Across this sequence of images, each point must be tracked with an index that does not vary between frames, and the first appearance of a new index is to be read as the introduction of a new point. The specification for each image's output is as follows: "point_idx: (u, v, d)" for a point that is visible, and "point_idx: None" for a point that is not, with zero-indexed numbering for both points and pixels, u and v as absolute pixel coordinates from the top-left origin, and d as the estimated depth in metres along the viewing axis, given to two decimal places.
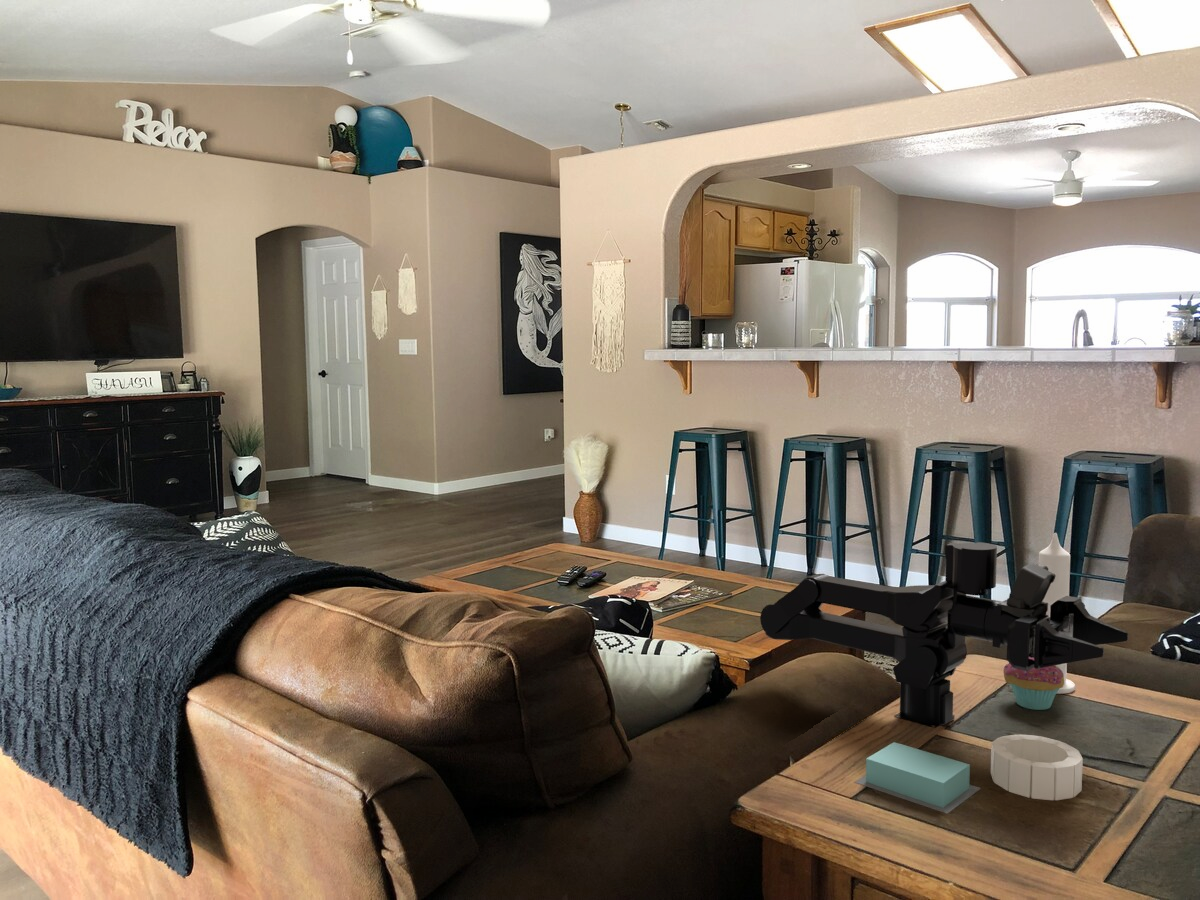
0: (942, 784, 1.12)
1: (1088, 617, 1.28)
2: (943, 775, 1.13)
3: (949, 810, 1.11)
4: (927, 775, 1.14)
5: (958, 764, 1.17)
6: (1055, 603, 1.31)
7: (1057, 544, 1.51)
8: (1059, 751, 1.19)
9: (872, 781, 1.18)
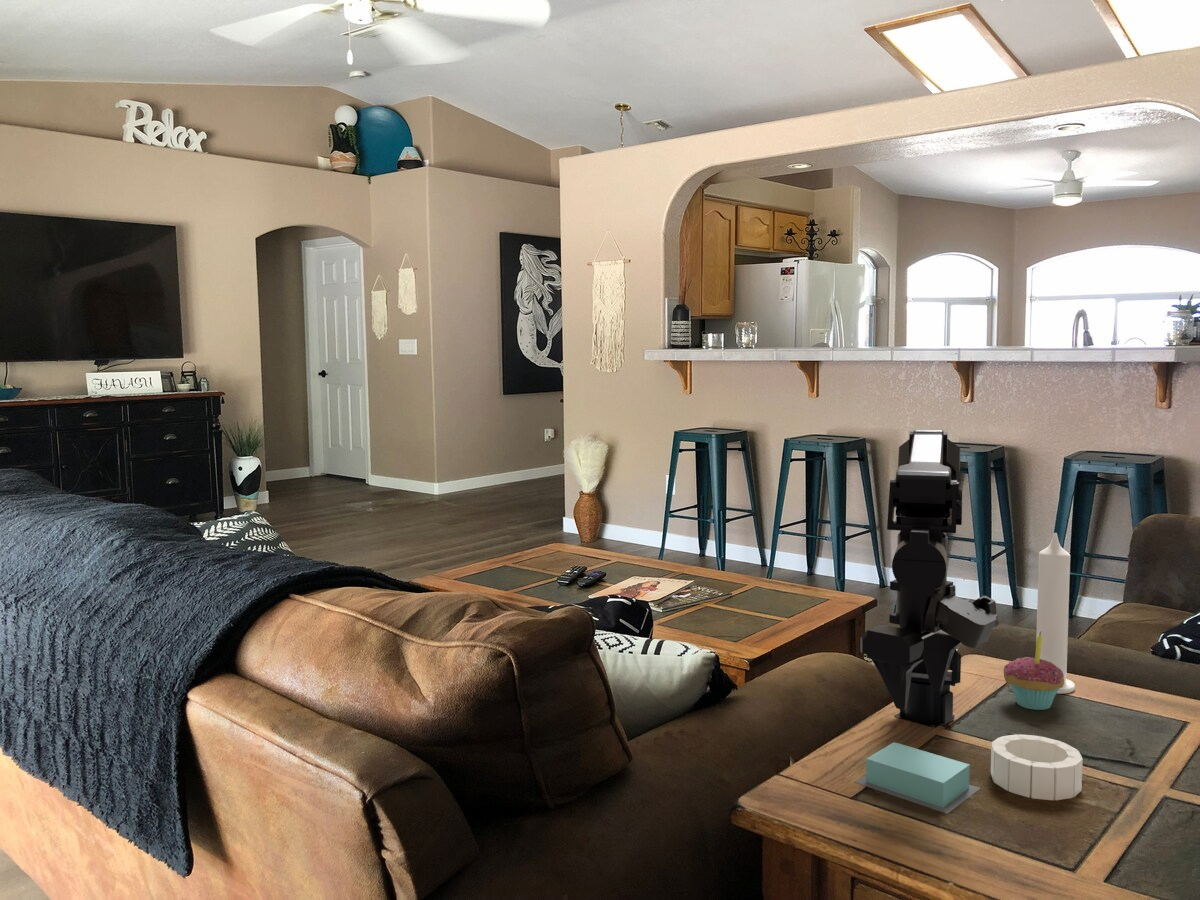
0: (942, 784, 1.12)
1: (950, 651, 1.19)
2: (943, 775, 1.13)
3: (949, 810, 1.11)
4: (927, 775, 1.14)
5: (958, 764, 1.17)
6: None
7: (1057, 544, 1.51)
8: (1059, 751, 1.19)
9: (872, 781, 1.18)
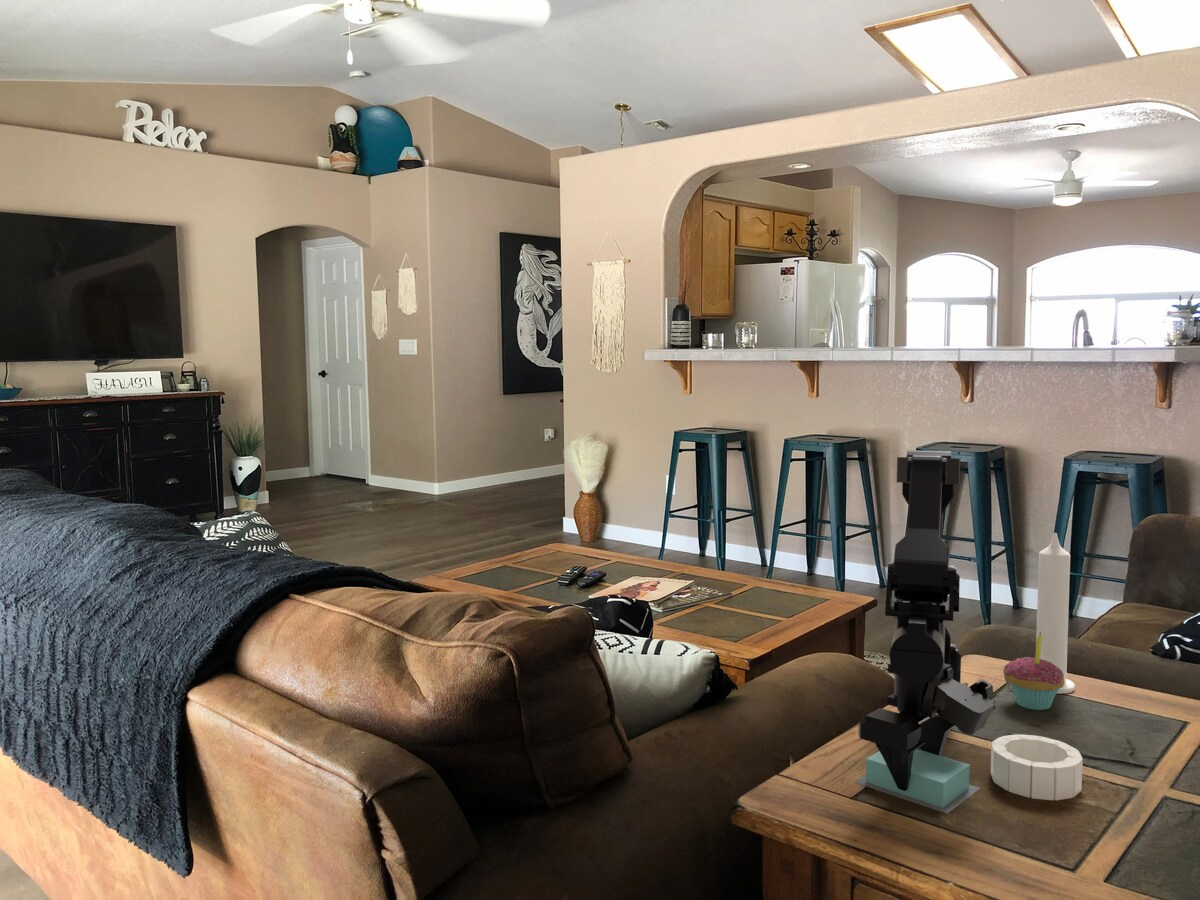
0: (942, 784, 1.12)
1: (945, 733, 1.19)
2: (943, 775, 1.13)
3: (949, 810, 1.11)
4: (927, 775, 1.14)
5: (958, 764, 1.17)
6: None
7: (1057, 544, 1.51)
8: (1059, 751, 1.19)
9: (872, 781, 1.18)
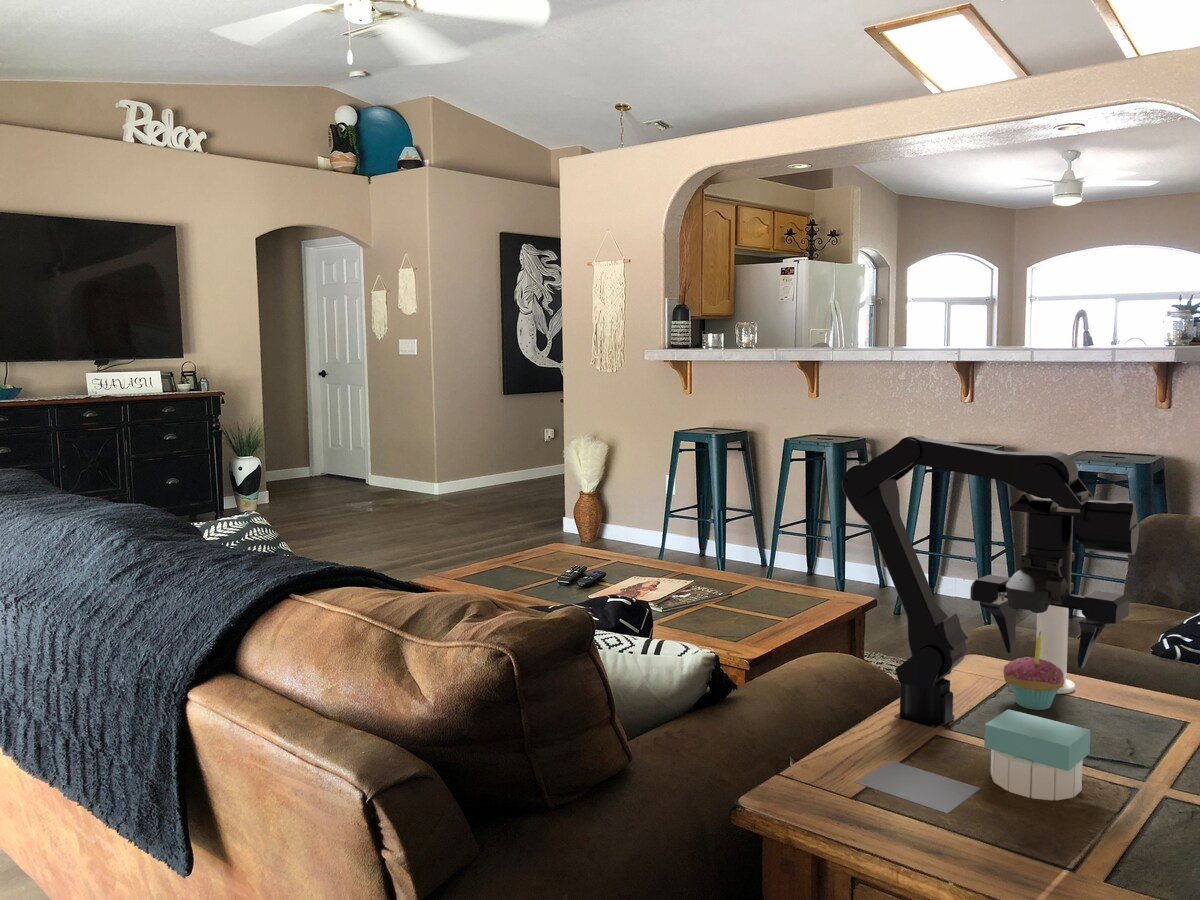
0: (1068, 748, 1.12)
1: (1082, 633, 1.24)
2: (1067, 740, 1.14)
3: (949, 810, 1.11)
4: (1051, 739, 1.14)
5: (1079, 729, 1.17)
6: None
7: None
8: None
9: (991, 746, 1.19)
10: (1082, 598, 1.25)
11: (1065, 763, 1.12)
